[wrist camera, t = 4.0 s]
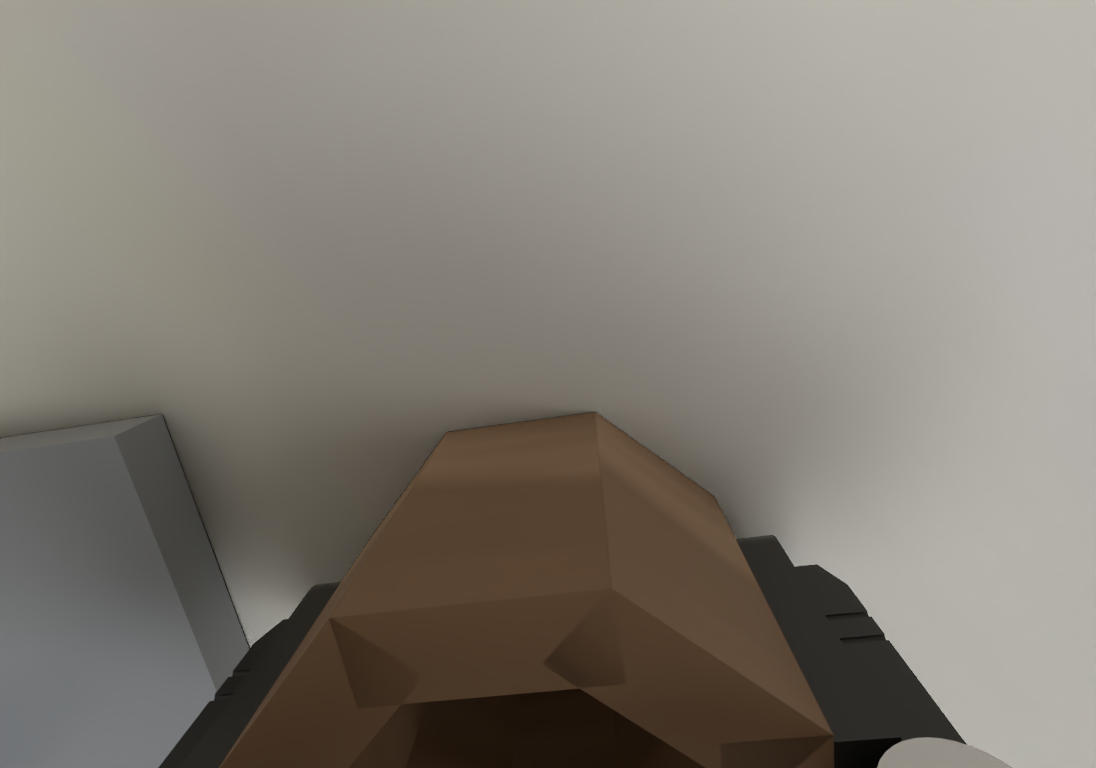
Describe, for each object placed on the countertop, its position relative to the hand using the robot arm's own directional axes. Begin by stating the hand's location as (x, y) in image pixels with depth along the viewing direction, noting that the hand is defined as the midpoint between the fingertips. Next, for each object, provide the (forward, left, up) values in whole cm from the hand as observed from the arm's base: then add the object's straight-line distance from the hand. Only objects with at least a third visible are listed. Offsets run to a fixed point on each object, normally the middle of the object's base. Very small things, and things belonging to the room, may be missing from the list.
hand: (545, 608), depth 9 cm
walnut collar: (0, 0, -1) cm, 1 cm away
